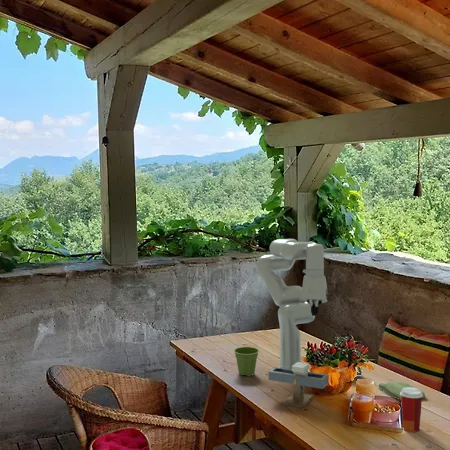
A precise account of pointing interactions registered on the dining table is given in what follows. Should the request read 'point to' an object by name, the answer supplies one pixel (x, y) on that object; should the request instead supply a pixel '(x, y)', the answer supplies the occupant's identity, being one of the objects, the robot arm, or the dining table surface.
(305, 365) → the rider
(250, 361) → the plant pot
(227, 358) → the dining table surface
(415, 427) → the paper cup
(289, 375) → the balance beam
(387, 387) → the washcloth
